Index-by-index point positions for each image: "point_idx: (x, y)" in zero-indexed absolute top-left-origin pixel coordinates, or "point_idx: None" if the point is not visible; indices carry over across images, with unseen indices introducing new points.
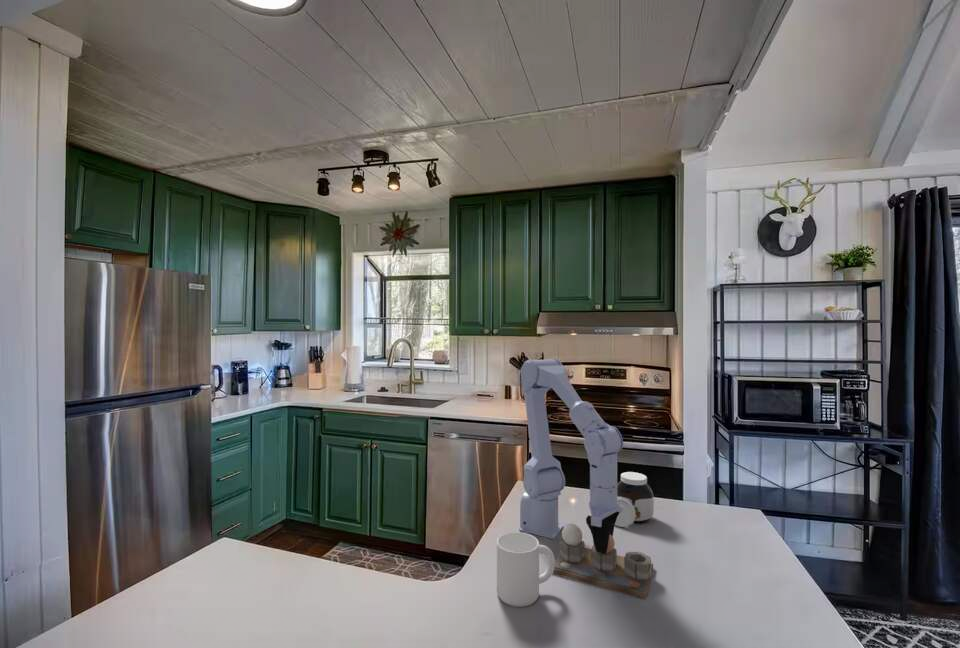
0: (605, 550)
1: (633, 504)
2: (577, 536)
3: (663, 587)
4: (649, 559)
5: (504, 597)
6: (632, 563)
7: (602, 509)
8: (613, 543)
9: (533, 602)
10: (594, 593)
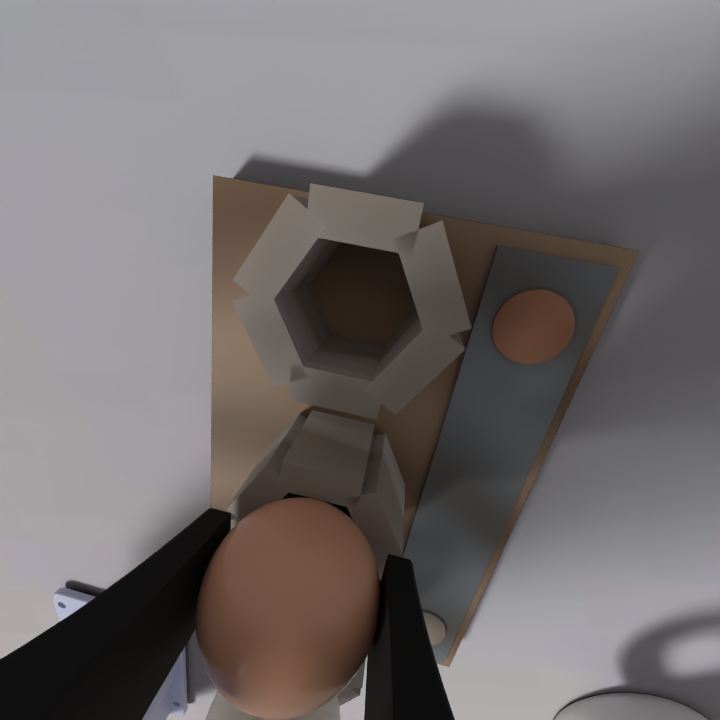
0: (416, 588)
1: None
2: None
3: (445, 116)
4: (337, 202)
5: None
6: (448, 362)
7: None
8: (315, 550)
9: (698, 714)
10: (584, 508)
